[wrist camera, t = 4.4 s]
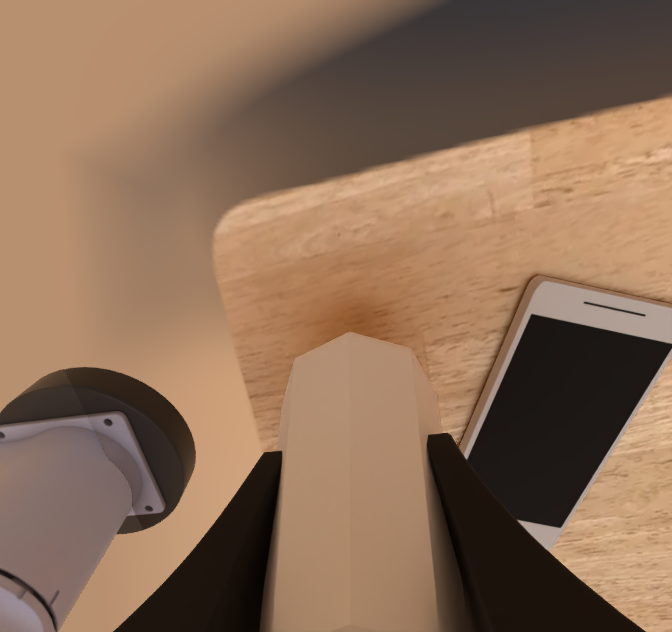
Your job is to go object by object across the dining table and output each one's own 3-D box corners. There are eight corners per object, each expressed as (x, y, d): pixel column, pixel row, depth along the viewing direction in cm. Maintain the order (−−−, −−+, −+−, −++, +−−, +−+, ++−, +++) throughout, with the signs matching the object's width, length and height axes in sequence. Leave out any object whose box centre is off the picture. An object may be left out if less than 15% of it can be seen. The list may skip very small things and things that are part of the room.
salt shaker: (433, 321, 13) (677, 902, 3) (438, 453, 16) (594, 1050, 5) (267, 336, 14) (37, 888, 4) (294, 462, 16) (193, 1027, 6)
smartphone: (428, 518, 25) (431, 532, 24) (532, 272, 18) (541, 280, 17) (544, 539, 25) (551, 554, 24) (684, 306, 19) (701, 314, 18)
